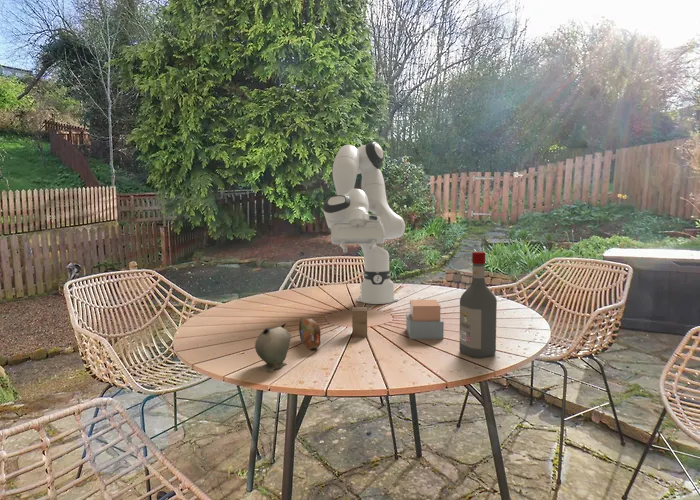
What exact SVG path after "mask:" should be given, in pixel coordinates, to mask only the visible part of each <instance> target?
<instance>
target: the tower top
mask: <svg viewBox="0 0 700 500" xmlns="http://www.w3.org/2000/svg"><path fill="white" fill-rule="evenodd" d="M409 313H410V315H411V317H412V320H413V321H440V317H441V305H440V303H439V302H438V301H437V299H409Z"/></svg>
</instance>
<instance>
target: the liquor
mask: <svg viewBox="0 0 700 500" xmlns="http://www.w3.org/2000/svg"><path fill="white" fill-rule="evenodd" d="M471 253H472V255H471V258H472V259H471V261H472V262H471V263H472V279H471V282H470V283H471V284H470V286H469V287H468V288H467V289H466V290H465V291H464V292H463V293H462V295H461V296H460V298H459V351H460V352H461V353H462V354H464V355H466V356H468V357H470V358H474V359H475V358H476V359H484V358H488V357H494V355H495V354H496V350H497V304H498V301H497V300H498V299H497V297H496V295H495V294H494V293H493V292H492V290H491V289H490V288H489V287H488V286H487V283H486V281H485V280H486V277H485V276H486V275H485V271H486V270H485V269H486V268H485V264H486V252H485V251H473V252H471Z"/></svg>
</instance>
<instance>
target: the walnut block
mask: <svg viewBox="0 0 700 500" xmlns="http://www.w3.org/2000/svg"><path fill="white" fill-rule="evenodd" d="M351 315H352V316H351V318H352V319H351V321H352V322H351V323H352V324H351V327H352V328H351V329H352V338H368V307H367V306H365V307H364V306H362V307H359V306H358V307H354V306H353V307H352V308H351Z"/></svg>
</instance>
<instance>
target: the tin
mask: <svg viewBox="0 0 700 500" xmlns="http://www.w3.org/2000/svg"><path fill="white" fill-rule="evenodd" d="M298 325H299V326H298V328H299V329H298V330H299V331H298V332H299V339H300V341H301V343H302V344H303V345H304V346H305V347H306V348H307V349H308V350H314V349H318V348H319V347H320V345H321V333H322V331H321V327H320V325H319V323H318V322H316V321H315V320H314V319H313V318H311V317H310V316H309V317H308V316H307V317H300V320H299V324H298Z"/></svg>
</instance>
